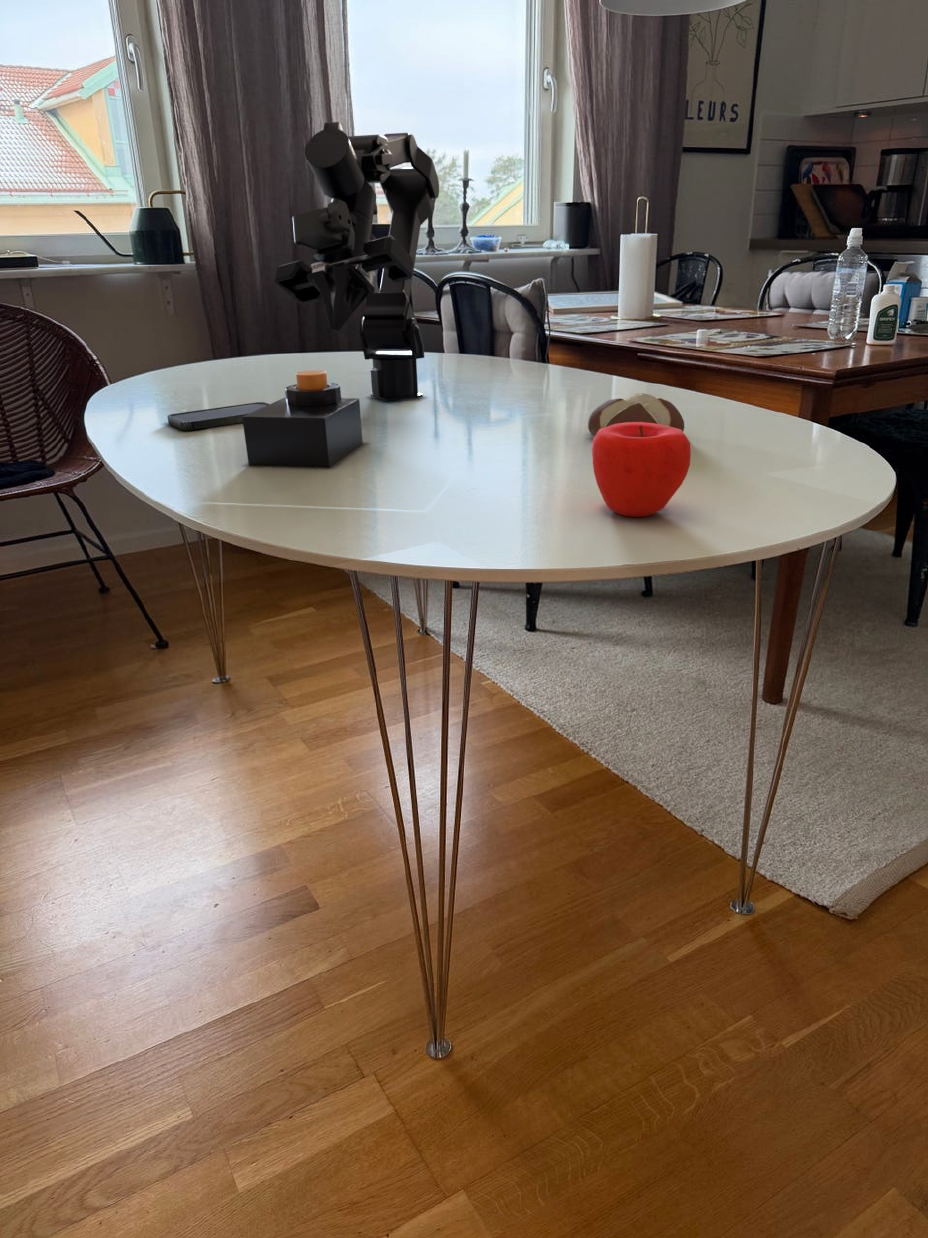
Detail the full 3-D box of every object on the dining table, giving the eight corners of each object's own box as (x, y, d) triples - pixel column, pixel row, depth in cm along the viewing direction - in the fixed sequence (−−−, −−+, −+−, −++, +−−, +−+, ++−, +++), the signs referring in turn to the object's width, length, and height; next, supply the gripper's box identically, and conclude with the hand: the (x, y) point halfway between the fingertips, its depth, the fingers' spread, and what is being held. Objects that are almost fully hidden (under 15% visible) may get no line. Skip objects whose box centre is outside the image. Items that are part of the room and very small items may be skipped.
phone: (165, 414, 123) (262, 401, 131) (166, 422, 124) (263, 408, 131) (183, 423, 117) (284, 408, 125) (184, 431, 118) (285, 415, 125)
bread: (647, 424, 114) (649, 386, 112) (697, 442, 104) (700, 400, 102) (572, 433, 110) (573, 393, 108) (616, 452, 101) (618, 409, 98)
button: (304, 387, 106) (302, 370, 105) (331, 387, 105) (330, 370, 104) (293, 392, 103) (291, 374, 102) (321, 392, 102) (319, 375, 101)
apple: (706, 513, 78) (714, 428, 75) (632, 532, 74) (638, 442, 71) (640, 491, 85) (645, 412, 82) (570, 507, 81) (572, 424, 78)
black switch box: (291, 441, 111) (284, 381, 108) (364, 442, 109) (360, 382, 106) (248, 465, 100) (239, 400, 96) (329, 468, 98) (323, 401, 94)
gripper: (255, 201, 111) (236, 310, 108) (373, 162, 101) (355, 280, 98) (309, 252, 120) (293, 353, 117) (422, 221, 111) (407, 330, 108)
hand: (334, 330), depth 110 cm, fingers closed
